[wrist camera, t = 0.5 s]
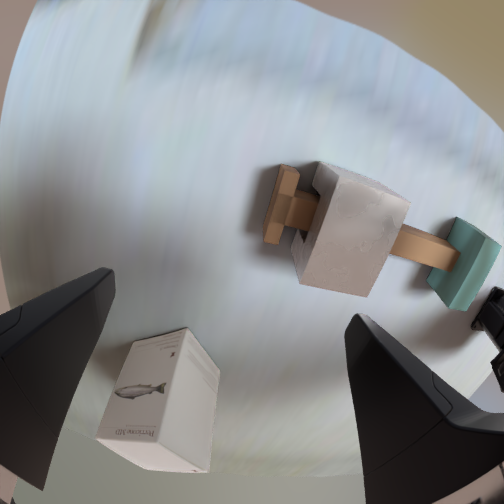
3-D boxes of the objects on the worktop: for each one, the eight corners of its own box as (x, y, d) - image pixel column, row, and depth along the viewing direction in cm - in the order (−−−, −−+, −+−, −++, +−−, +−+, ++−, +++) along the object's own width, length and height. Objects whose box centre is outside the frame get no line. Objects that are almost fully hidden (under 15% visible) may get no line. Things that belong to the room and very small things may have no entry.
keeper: (379, 182, 19) (411, 202, 15) (347, 261, 22) (366, 297, 18) (319, 161, 18) (339, 175, 14) (290, 247, 22) (299, 283, 17)
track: (474, 225, 21) (501, 246, 17) (444, 285, 24) (466, 311, 20) (284, 150, 18) (293, 160, 14) (259, 239, 22) (260, 269, 18)
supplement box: (188, 324, 26) (159, 443, 14) (221, 370, 29) (211, 475, 18) (131, 339, 27) (91, 438, 16) (167, 380, 30) (146, 471, 19)
